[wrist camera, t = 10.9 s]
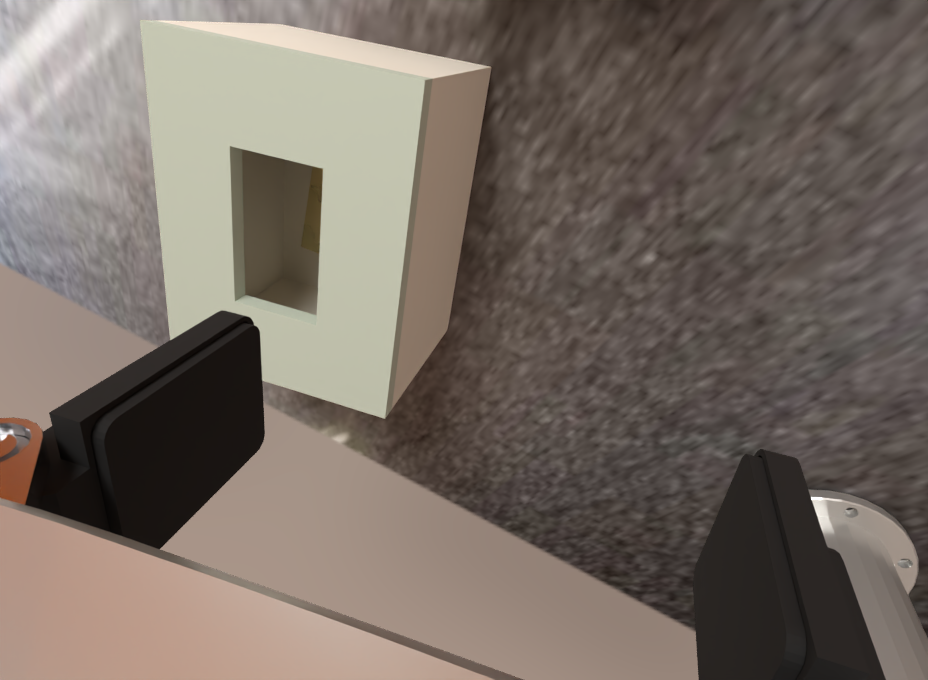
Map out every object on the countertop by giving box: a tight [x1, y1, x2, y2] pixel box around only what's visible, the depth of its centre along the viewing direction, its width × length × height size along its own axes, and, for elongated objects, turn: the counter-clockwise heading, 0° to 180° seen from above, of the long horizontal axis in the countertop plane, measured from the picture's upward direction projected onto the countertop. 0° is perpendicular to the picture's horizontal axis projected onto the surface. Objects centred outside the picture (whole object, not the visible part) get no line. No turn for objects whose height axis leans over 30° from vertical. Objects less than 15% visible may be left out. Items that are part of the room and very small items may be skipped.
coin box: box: [140, 20, 492, 419], centre depth 36 cm, size 18×14×12 cm
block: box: [301, 166, 323, 254], centre depth 38 cm, size 6×3×6 cm, turn 163°
